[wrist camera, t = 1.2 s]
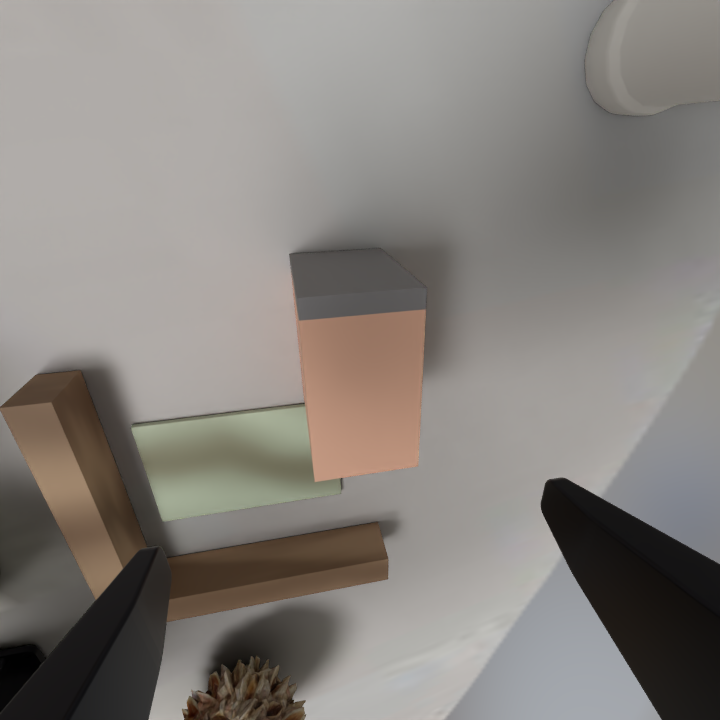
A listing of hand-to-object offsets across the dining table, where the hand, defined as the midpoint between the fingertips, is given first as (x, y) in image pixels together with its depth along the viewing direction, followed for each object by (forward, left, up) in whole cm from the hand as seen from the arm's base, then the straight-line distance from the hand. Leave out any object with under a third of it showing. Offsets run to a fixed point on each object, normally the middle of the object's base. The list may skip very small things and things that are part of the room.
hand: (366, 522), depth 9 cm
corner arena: (-10, +5, -13) cm, 17 cm away
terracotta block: (-1, -1, -14) cm, 14 cm away
